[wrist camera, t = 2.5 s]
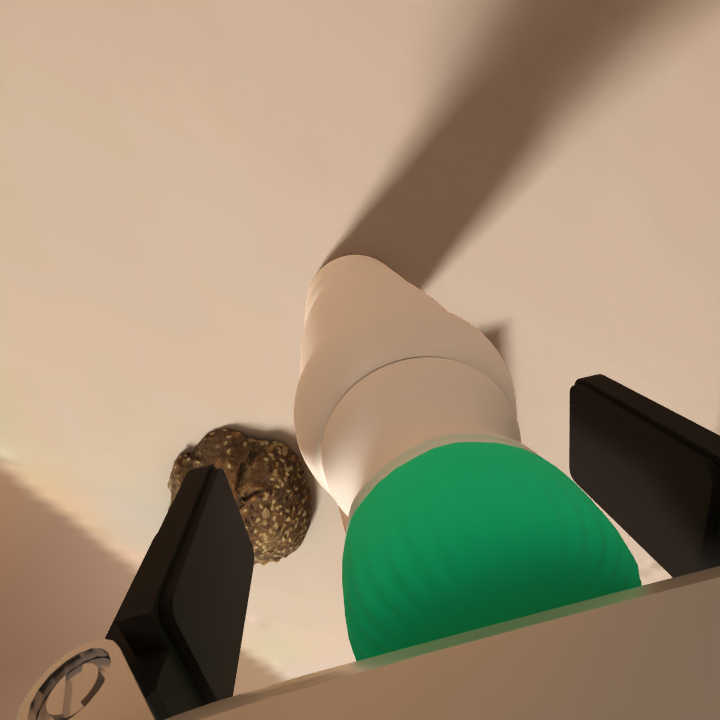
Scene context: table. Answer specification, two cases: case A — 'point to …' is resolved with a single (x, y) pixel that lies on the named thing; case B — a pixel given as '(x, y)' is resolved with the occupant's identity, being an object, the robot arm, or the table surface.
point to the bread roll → (257, 488)
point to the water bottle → (435, 470)
